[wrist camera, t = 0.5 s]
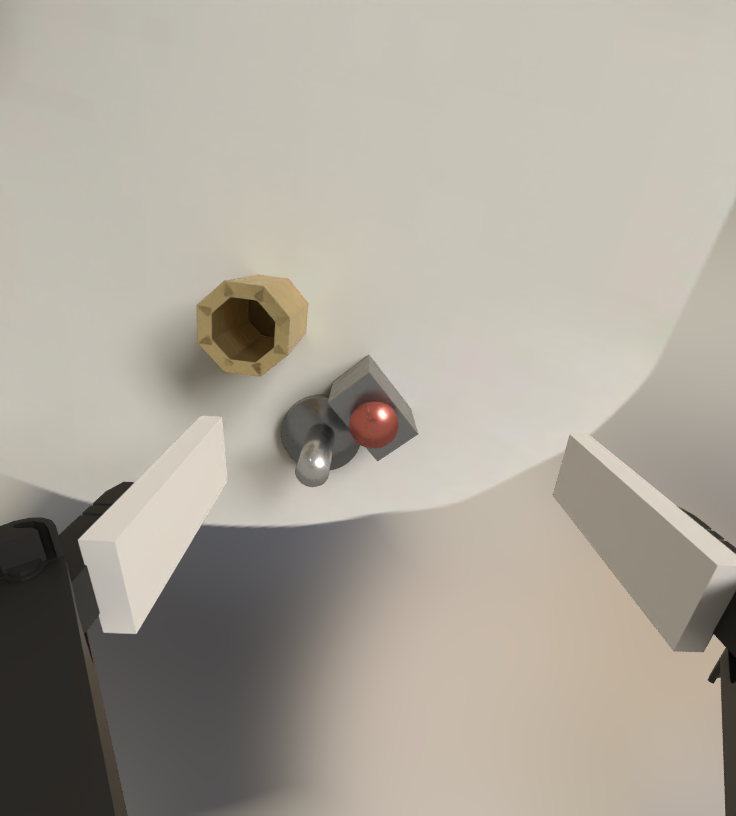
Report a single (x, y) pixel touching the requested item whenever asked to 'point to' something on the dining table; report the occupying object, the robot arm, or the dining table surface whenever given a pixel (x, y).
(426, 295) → the dining table surface
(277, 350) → the tan octagonal tube
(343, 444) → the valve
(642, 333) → the dining table surface
